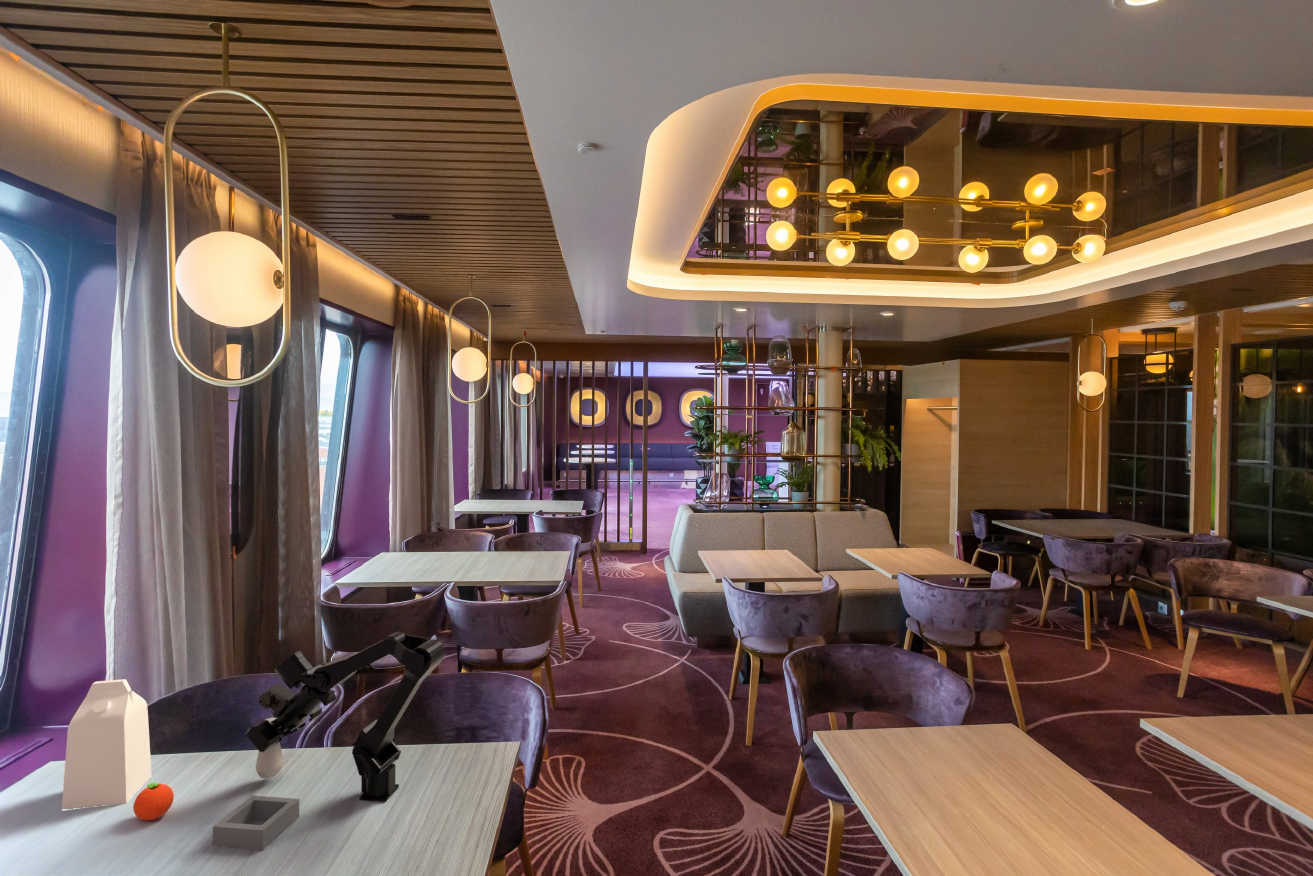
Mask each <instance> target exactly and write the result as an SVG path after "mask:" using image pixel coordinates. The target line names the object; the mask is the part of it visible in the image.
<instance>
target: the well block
mask: <svg viewBox="0 0 1313 876" xmlns="http://www.w3.org/2000/svg"><path fill="white" fill-rule="evenodd" d="M299 818H300V798H293V797H292V798H291V797H278V796H264V795H251V796H250V797H248V798H247V799H246V800H245V801H244V802H242V803H241V804H240V805H238V806H237V807H236V808H235V809H233V810H232V811H231V812H229V813H228V814H227V815H225V816H224V817H223V818H222V819H220V820H219V821H218V822H217V823H215V824H213V826H212V847H219V848H221V847H222V848H232V849H233V848H234V849H246V850H256V851H259V850H260V851H264V850H265V849H266V848H268V846H270V844H272V843H273V842H274V841H275V840H276V839H277V838H278V837H279V836H280V835H281V834H282V833H284V832H285V831H286V830H287V829H288V828H289V827H290V826H291V825H292V824H293V823H295V821H297V820H298V819H299ZM253 819H259V820H260V819H261V820H265V822H264V823H262V825H261V824H253V823H252V824H250V822H251V821H252V820H253Z"/></svg>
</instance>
